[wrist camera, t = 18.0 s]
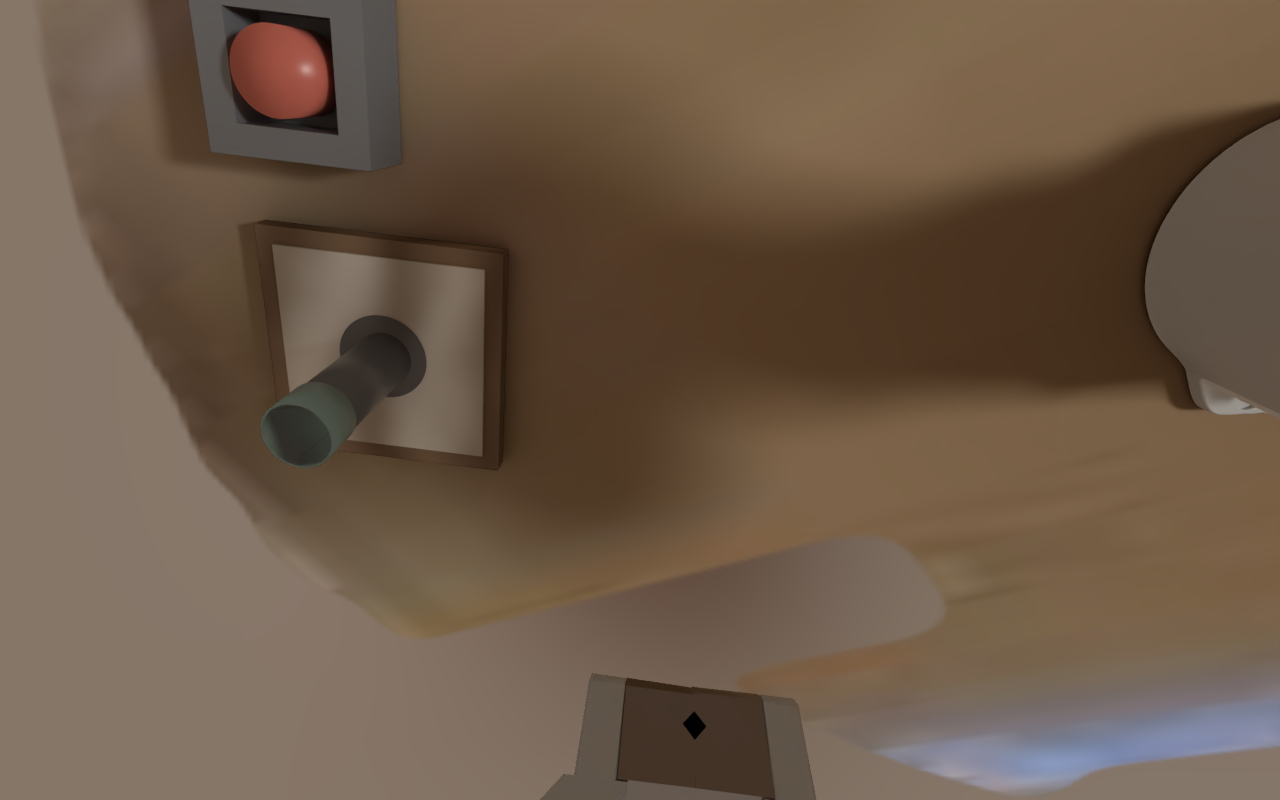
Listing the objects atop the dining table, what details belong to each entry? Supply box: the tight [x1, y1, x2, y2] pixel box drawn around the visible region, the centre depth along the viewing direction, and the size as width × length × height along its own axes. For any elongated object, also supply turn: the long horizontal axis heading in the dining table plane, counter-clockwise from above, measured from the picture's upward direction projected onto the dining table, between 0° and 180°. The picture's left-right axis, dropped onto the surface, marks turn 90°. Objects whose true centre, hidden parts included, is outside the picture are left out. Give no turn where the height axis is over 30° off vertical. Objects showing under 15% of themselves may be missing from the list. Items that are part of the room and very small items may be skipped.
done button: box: [229, 22, 336, 119], centre depth 32 cm, size 4×4×3 cm
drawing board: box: [254, 220, 508, 470], centre depth 41 cm, size 14×14×2 cm
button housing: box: [188, 0, 402, 171], centre depth 34 cm, size 8×8×4 cm
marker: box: [260, 333, 411, 468], centre depth 36 cm, size 3×3×10 cm
